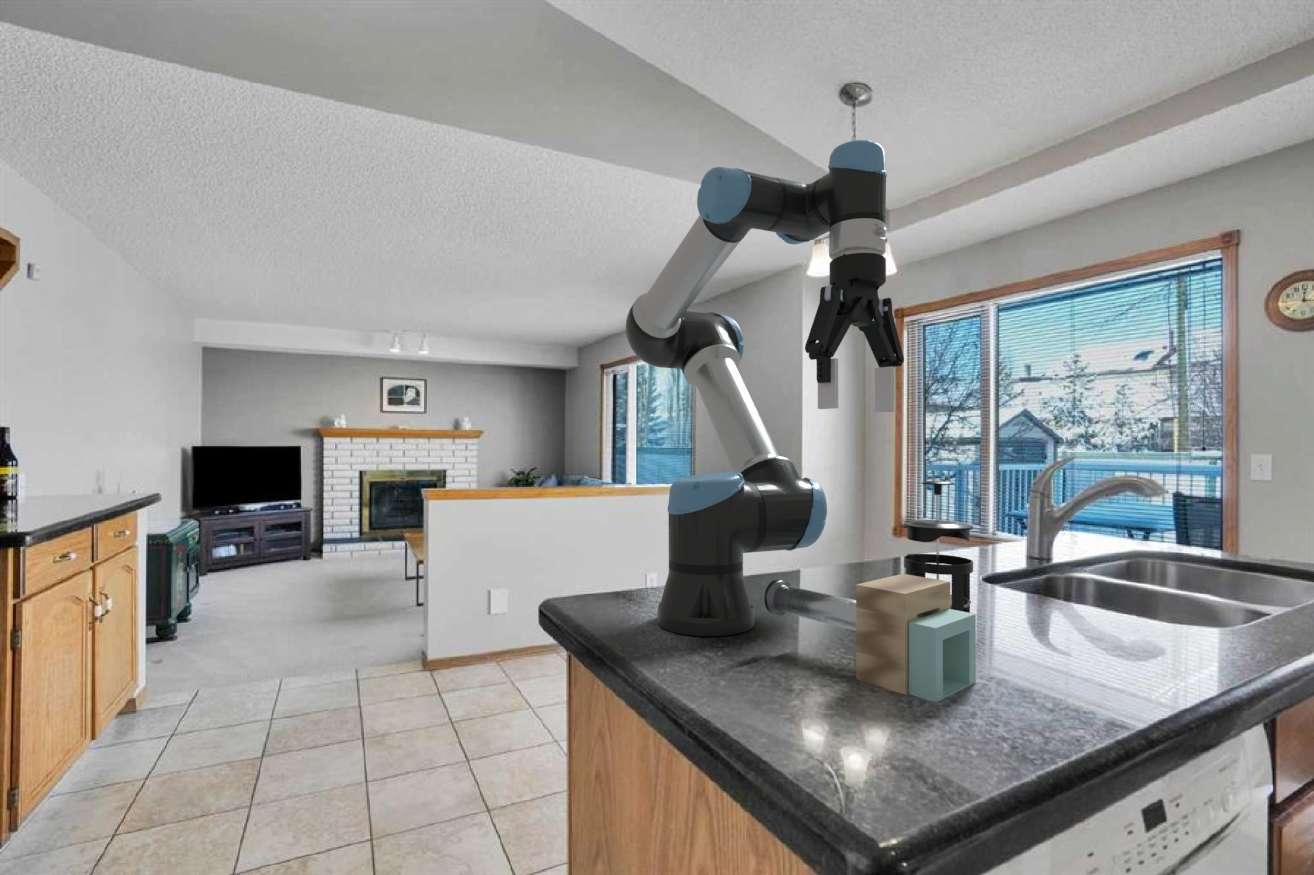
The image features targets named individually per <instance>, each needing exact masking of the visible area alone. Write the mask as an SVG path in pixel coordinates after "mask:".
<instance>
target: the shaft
mask: <svg viewBox="0 0 1314 875" xmlns="http://www.w3.org/2000/svg"><path fill="white" fill-rule="evenodd" d="M763 597H764V599H763V600H764V606H765V608H766V611H768V613H770V614H774V615H777V616H784V615H785V614H789V615H793V616H795V617H800V618H805V619H808V620H813V621H816V622H819V623H823V624H828V625H832V626H836V627H839V628H843V629H848V630H852V631H855V632H856V599H851V598H847V597H845V596H844V597H843V596H839V595H834V594H828V593H823V592H820V591H815V590H810V589H806V588H805V589H804V588H800V587H797V586H793V585H791V584H790V583H789V581H788V582H787V581H786V580H780V579H773V580H772V581H771V582H770V583H769V584H768V585H767V587H766V589H765V592H764V596H763ZM923 617H926V616H925V615H923V614H917V619H920V618H923Z"/></svg>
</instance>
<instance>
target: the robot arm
mask: <svg viewBox="0 0 1314 875" xmlns="http://www.w3.org/2000/svg"><path fill="white" fill-rule="evenodd" d="M886 166H887V165H886V153H885V150H884V147H883V146H882V145H881V144H880V143H877V142H876V141H871V140H869V139H857V140H851V141H847V142H844V143H842V144H839V145H838V146H836V147H835V148H834V149H833V150H832V151H831V154H830V155H829V161H828V166H827V167H828V173H827V174H824V175H823V176H822V177H819V178H818V179H816V180H814V181H813V182H811V183H805V182H800V181H799V182H798V181H796V180H795V181H794V180H790V179H784V178H782V177H781V178H779V177H774V176H773V177H772V176H768V175H765V174H759V173H755V172H750V171H746V170H744V169H741V168H737V167H735V168H731V167H723V166H717V167H715V166H714V167H713V168H711V169H709V170H708V171H707V172H706V173H705V174H704V175H703V178H702V179H701V181H700V182H701V183H700V187H699V189H698V192H697V195H696V196H697V198H696V204H697V210H698V213H699V215H698V217H697V218H696V220H695V221H694V223H693V224H692V225H691V227H690V228H689V230H688V232H687V233H686V234H685V236H684V238H683V240H681V242H680V243H679V245H678V247H677V248H676V250H674V253H673V254H672V256H671V257H670V258H669V260H668V261H667V262H666V264H665V266H664V268H662V270H661V272H660V273H659V274H658V276H657V278H656V279H655V281H654V282H653V284H652V285H651V287H650V288H649V289H648V291H647V292H646V293H643V294H640V295H639V296H638V297H637V298H636V299H635V301H634V302H633V304H632V305H631V307H630V308H629V311H628V314H627V316H626V319H625V320H626V321H625V334H626V339H627V342H628V345H630V348H631V350H632V351H633V353H634V354H635V355H636V357H638V359H640V360H641V361H643V362H644V363H646V364H648V365H649V366H652V367H657V368H666V369H680V370H681V372H682V374H683V376H684V378H685V381H686V382H687V383H688V384H689V385H690V386H693V387H694V388H697V390H698V392H699V395H700V397H701V400H702V402H703V405H704V407H705V409H706V411H707V414H708V416H709V419H710V421H711V423H712V426H713V428H714V431H715V433H716V436H717V438H718V440H719V442H720V444H721V448H722V450H723V451H724V452H723V453H724V454H725V457H726V458H727V461H728V464H729V466H730V469H731V471H720V472H709V473H699V474H693V475H689V476H684V477H680V478H678V479H677V480H675V481H674V482H673V483H671V486H670V488H669V495H668V506H667V512H668V574H667V578H666V581H665V584H664V588H663V591H662V597H661V600H660V603H658V606H657V611H656V613H657V616H656V617H657V618H656V620H657V625H658V626H660V627H661V628H662V629H663V630H666V631H669V632H672V633H677V634H681V635H686V636H687V635H689V636H696V637H697V636H698V637H699V636H701V637H719V636H720V637H722V636H730V635H731V636H732V635H736V634H741V633H745V632H748V631H750V630H752V629H753V628H754V626H755V608H754V606H753V604H752V603H751V599H750V595H749V590H748V587H747V584H746V580H745V577H744V554H747V553H748V554H749V553H760V552H762V553H764V552H773V551H774V552H775V551H776V552H777V551H790V552H792V551H794V550H796V549H803V548H808V547H810V546H812V545H813V544H815V543H816V542H817V541H818V539H820V537H821V536H822V534H823V532H824V529H825V527H826V520H827V516H828V504H827V498H826V494H825V491H824V489H823V488H822V486H821V485H820V483H819V482H817V481H816V480H814V479H811V478H809V477H803V478H802V477H801V476H800V475H799V472H798V470H797V469H796V467H795V464H794V463H793V461H792V460H791V459H789V458H787V457H784V456H780V454H779V452H778V449H777V448H776V446H775V444H774V442H773V439H772V437H771V436H770V433H769V431H768V430H767V427H766V425H765V424H764V421H763V419H762V417H761V415H760V412H759V411H758V408H757V406H756V404H755V402H754V400H753V399H752V396H751V394H750V392H749V390H748V388H747V385H746V383H745V381H744V380H743V378H742V376H741V373H740V372H739V370H738V368H739V366H740V363H741V360H742V358H743V354H744V347H745V346H744V344H743V341H744V335H743V332H742V330H741V327H740V326H739V324H738V323H737V321H736V320H734V319H733V318H732V317H730V316H729V315H726V314H722V313H718V312H709V311H708V312H702V311H700V312H699V311H691V310H690V311H689V310H688V309H689V308H690V307H691V306H692V305H693V304H694V303H693V302H695V300H696V299H697V298H698V296H699V295H700V294H701V292H702V291H703V290H704V289H705V287H706V286H707V285H708V284H709V282H710V281H711V280H712V278H713V277H714V276H715V275H716V273H717V272H718V271H719V269H720V268H721V267H722V265H723V264H724V263H725V262H726V261H727V259H728V258H729V257H730V256H731V255H732V253H733V251H735V249H736V248H737V246H738V245H739V244H740V243H741V242H742V241H743V239H744V238H745V236H746V235H748V233H749V232H750V230H758V231H759V230H761V231H765V232H766V231H767V232H772V233H775V234H776V235H777V236H778V238H780V239H781V240H782V241H784V242H785V243H787V244H789V245H800V244H803V243H807V242H810V241H814V240H815V239H818V238H819V237H821V236H822V235H824V234H827V233H829V235H828V237H829V239H828V240H829V241H828V242H829V246H828V248H829V249H828V251H829V252H828V256H829V258H830V259H831V261H830V262H829V285H826V286H822V287H821V288H820V291H819V292H820V293H819V303H818V306H817V309H816V311H815V315H814V318H813V321H812V325H811V327H810V330H809V333H808V337H807V339H806V343H805V347H804V350H805V352H806V353H807V354H808V358H809V360H812V361H813V360H816V381H817V409H818V410H831V409H839V358H835V357H834V355H835V354H836V353H837V350H838V348H839V347H840V345H841V343H842V341H843V339H844V338H845V336H846V334H847V332H848V330H849V329H850V327H851V325H852V326H854V327H857V328H858V330H859V331H861V332H863V334H864V336H865V339H866V341H867V343H868V345H869V347H870V351H872V352H871V353H872V355H873V356H874V359H875V361H876V364H877V365H878V367H875V368H874V413H895V370H896V369H895V368H897V367H902V365H903V364H904V362H905V357H904V353H903V349H902V346H901V341H900V336H899V333H898V329H897V326H896V322H895V318H894V315H893V300H892V298H891V297H886V298H885V297H884V298H880V297H879V293H878V291H879V288H880V287H882V286H883V285H885V283H886V281H887V259H886V257H885V256H884V255H885V253H887V252H886V233H887V227H886V224H887V222H886V219H887V218H886V214H887V212H886V210H887V206H886V204H887V200H886V198H887V196H886V195H887V187H886V186H887V177H888V173H887V168H886Z"/></svg>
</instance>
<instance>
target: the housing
mask: <svg viewBox="0 0 1314 875" xmlns="http://www.w3.org/2000/svg"><path fill="white" fill-rule="evenodd" d="M855 586H856V589H855V591H856V593H855V600H856V631H855V641H856V642H855V644H856V646H855V650H856V652H855V658H856V659H855V663H856V664H855V665H856V666H855V669H856V670H855V672H856V673H855V674H856V675H855V676H856V677H855V679H856V680H858V681H860V682H864V683H868V684H870V685H874V686H877V687H880V688H883V689H886V690H888V691H892V692H896V693H899V694H901V695H905V696H906V695H909V622H910V621H914V620H917V614H923V615H925V616H929V615H932V614H935V613H938V612H941V611H944V610H947V609H950V594H951V581H950V580H943V579H942V580H941V579H939V580H937V578H930V577H926V576H925V577H919V576H913V575H907V574H906V573H900V574H897V575H895V574H894V575H891V576H887V577H883V578H879V579H874V580H869V581H866V582H861V583H857V584H856V585H855Z"/></svg>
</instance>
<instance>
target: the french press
mask: <svg viewBox="0 0 1314 875" xmlns="http://www.w3.org/2000/svg"><path fill="white" fill-rule="evenodd" d="M921 484H922V485H931V486H933V495H935V499H936V502H935V503H936V507H935V511H936V512H935V513H936V514H935V515H936V518H935V519H922V520H921V519H920V520H910V521H906V522H905V521H904V522H903V526H904V527H906V539H908V540H910V541H913V542H919V543H933V542H935V541H936V542H935V544H936V552H935V553H934V554H933V553H907V554H906V555H904V556H903V567H904V568H905V574H907V575H913V576H919V577H925V578H926V574H932V575H936V579H937V580H940V575H943V576H944V575H946V576H950V575H951V593H950V609H953V610H958V611H963V612H968V613H971V603H972V601H971V574H972V573H973V572H974V561H973V560H972V559H970V558H966V557H961V556H956V555H949V554H940V538H941V537H945V538H954V539H955V538H956V539H961V540H965V541H967V542H970V537H971V536H970V535H971V534H970V530H973V529H974V526H973V525H971V524H968V523H963V522H957V521H953V520H941V519H940V496H941V495H942V486H947V485H948V486H953V485H955V483H954V482H952V481H949V480H926V481H923V482H921Z"/></svg>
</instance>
